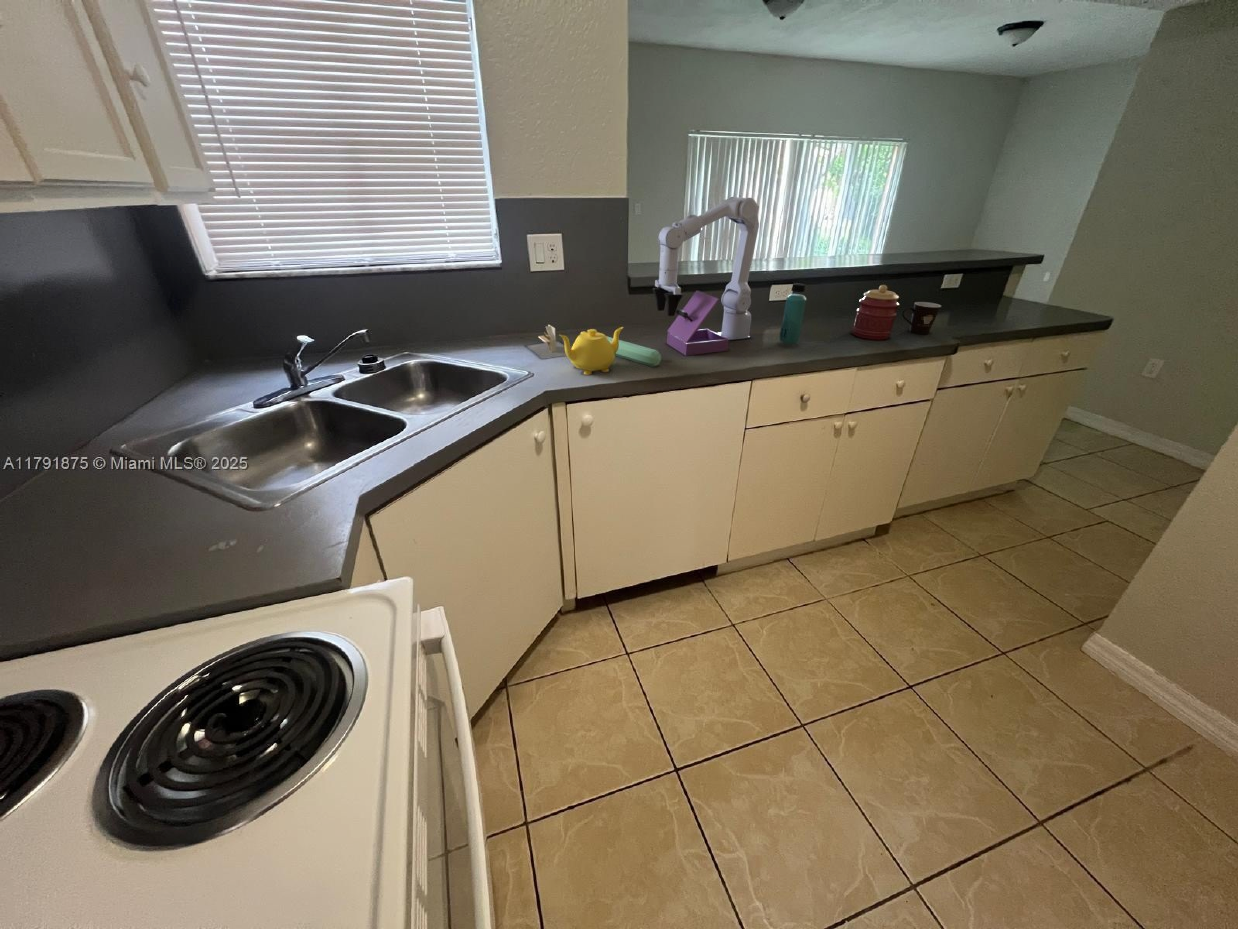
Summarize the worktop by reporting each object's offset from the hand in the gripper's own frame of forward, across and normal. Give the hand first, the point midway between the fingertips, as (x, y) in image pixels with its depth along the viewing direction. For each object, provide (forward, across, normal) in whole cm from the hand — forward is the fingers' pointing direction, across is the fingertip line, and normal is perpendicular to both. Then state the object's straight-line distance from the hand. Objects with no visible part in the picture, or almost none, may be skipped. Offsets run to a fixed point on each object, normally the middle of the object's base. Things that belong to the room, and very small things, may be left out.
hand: (665, 313), depth 160 cm
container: (+11, +10, -18) cm, 23 cm away
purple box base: (+10, +7, +9) cm, 15 cm away
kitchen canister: (+11, +15, +77) cm, 79 cm away
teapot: (+11, +14, -31) cm, 36 cm away
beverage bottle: (+11, +15, +40) cm, 44 cm away
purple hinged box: (0, +7, +6) cm, 9 cm away
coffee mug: (+11, +16, +98) cm, 100 cm away
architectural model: (+11, -6, -38) cm, 40 cm away
